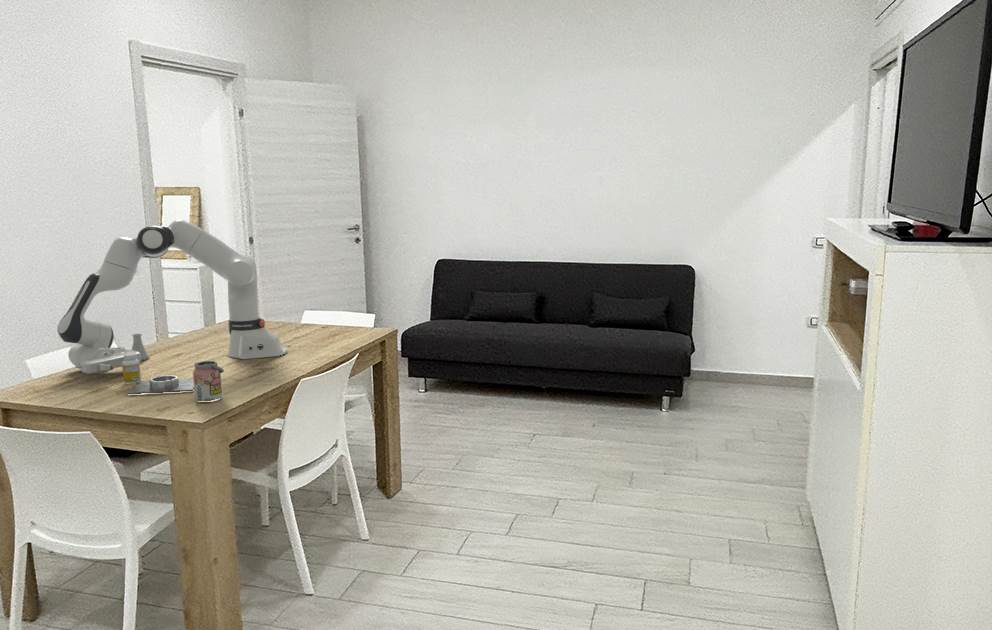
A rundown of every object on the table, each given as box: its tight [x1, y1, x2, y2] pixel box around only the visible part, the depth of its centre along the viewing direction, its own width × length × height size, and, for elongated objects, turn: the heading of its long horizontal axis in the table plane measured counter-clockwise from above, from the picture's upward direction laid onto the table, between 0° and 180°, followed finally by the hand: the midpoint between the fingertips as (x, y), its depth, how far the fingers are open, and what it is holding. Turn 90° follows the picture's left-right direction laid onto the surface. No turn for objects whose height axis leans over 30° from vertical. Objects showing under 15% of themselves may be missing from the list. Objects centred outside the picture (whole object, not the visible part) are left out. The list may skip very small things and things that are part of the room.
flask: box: [131, 333, 151, 361], centre depth 305 cm, size 7×7×10 cm
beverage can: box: [192, 360, 224, 402], centre depth 250 cm, size 9×8×12 cm
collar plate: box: [126, 374, 194, 395], centre depth 264 cm, size 20×14×4 cm
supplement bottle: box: [122, 353, 142, 384], centre depth 273 cm, size 5×5×10 cm
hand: (123, 364), depth 275 cm, fingers open, 8 cm apart
